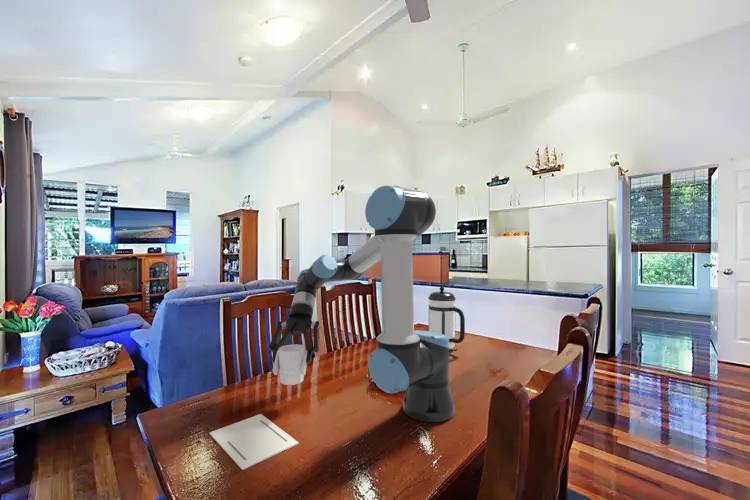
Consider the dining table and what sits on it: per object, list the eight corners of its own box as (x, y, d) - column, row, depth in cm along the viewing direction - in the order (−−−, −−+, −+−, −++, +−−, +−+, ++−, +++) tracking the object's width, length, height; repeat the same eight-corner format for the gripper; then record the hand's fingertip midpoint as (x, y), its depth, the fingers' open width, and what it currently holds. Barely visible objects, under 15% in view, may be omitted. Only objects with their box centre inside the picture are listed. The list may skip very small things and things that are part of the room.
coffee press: (425, 354, 153) (425, 288, 153) (426, 344, 169) (426, 284, 168) (464, 356, 150) (465, 289, 150) (461, 346, 166) (461, 285, 166)
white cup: (296, 374, 107) (296, 342, 107) (310, 380, 101) (310, 347, 101) (273, 381, 101) (273, 347, 101) (287, 388, 96) (286, 353, 96)
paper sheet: (298, 443, 82) (298, 442, 82) (242, 470, 72) (242, 468, 72) (260, 414, 96) (260, 413, 96) (209, 433, 86) (209, 432, 86)
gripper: (333, 314, 116) (325, 378, 100) (275, 314, 117) (257, 378, 101) (331, 301, 111) (322, 367, 95) (269, 301, 112) (250, 366, 96)
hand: (288, 372), depth 98 cm, fingers closed on white cup, 8 cm apart
